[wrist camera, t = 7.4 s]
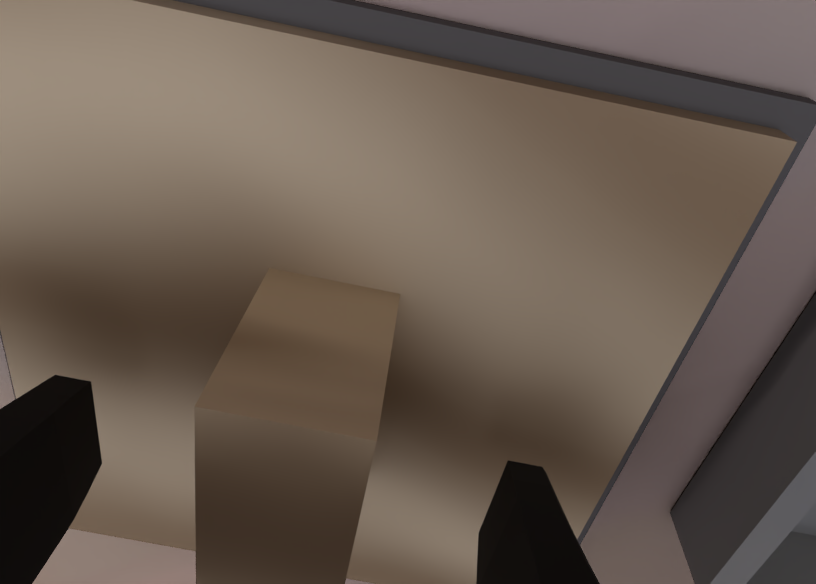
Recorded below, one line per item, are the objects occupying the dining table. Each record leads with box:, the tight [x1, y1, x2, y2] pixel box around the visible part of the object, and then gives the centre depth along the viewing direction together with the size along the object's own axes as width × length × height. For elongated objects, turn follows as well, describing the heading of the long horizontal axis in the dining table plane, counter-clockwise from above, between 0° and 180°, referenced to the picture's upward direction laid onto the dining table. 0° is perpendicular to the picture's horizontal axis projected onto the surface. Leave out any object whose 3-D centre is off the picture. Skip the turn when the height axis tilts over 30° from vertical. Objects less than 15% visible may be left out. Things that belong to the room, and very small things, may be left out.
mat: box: [0, 0, 816, 545], centre depth 13 cm, size 14×14×1 cm
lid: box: [0, 0, 797, 584], centre depth 11 cm, size 13×13×4 cm
